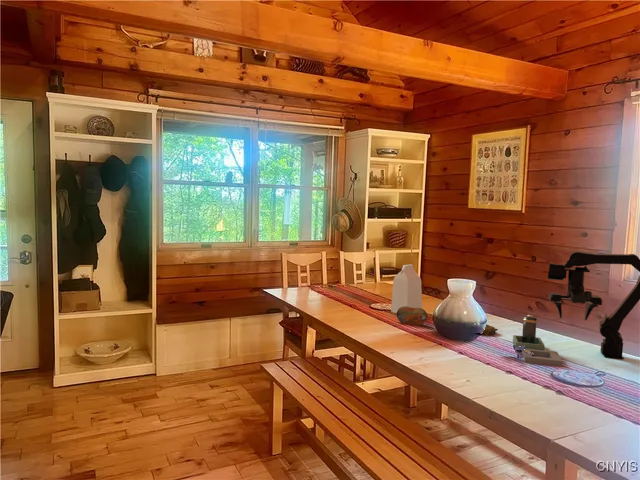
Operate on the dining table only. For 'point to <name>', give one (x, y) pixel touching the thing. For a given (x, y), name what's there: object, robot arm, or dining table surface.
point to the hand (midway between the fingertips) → (573, 319)
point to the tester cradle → (552, 360)
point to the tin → (412, 315)
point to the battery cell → (529, 329)
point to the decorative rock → (489, 330)
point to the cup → (538, 343)
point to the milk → (406, 289)
